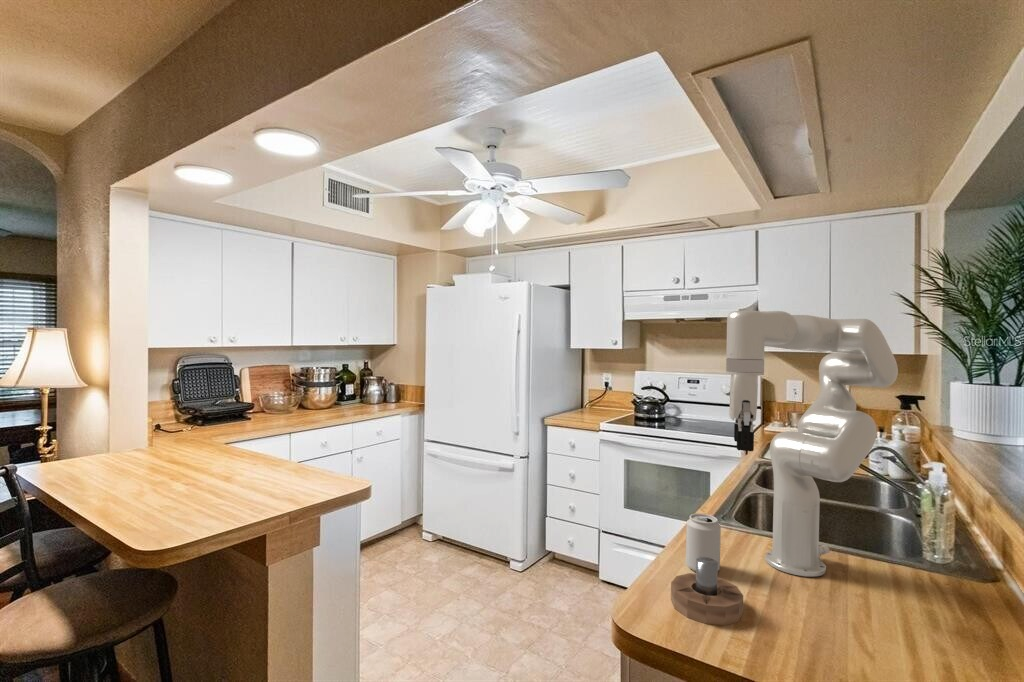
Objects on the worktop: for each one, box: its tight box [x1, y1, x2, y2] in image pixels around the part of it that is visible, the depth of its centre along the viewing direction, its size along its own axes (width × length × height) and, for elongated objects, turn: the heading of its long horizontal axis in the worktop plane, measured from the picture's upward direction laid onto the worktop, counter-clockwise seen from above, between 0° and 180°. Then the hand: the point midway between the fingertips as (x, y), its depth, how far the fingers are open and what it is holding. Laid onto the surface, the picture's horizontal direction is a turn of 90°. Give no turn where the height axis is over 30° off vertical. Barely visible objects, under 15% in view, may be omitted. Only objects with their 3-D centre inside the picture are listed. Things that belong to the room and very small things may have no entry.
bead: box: [670, 572, 744, 626], centre depth 100 cm, size 13×13×4 cm
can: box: [685, 513, 722, 573], centre depth 117 cm, size 8×8×12 cm
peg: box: [695, 557, 719, 596], centre depth 100 cm, size 4×4×9 cm
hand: (743, 445), depth 110 cm, fingers open, 9 cm apart
